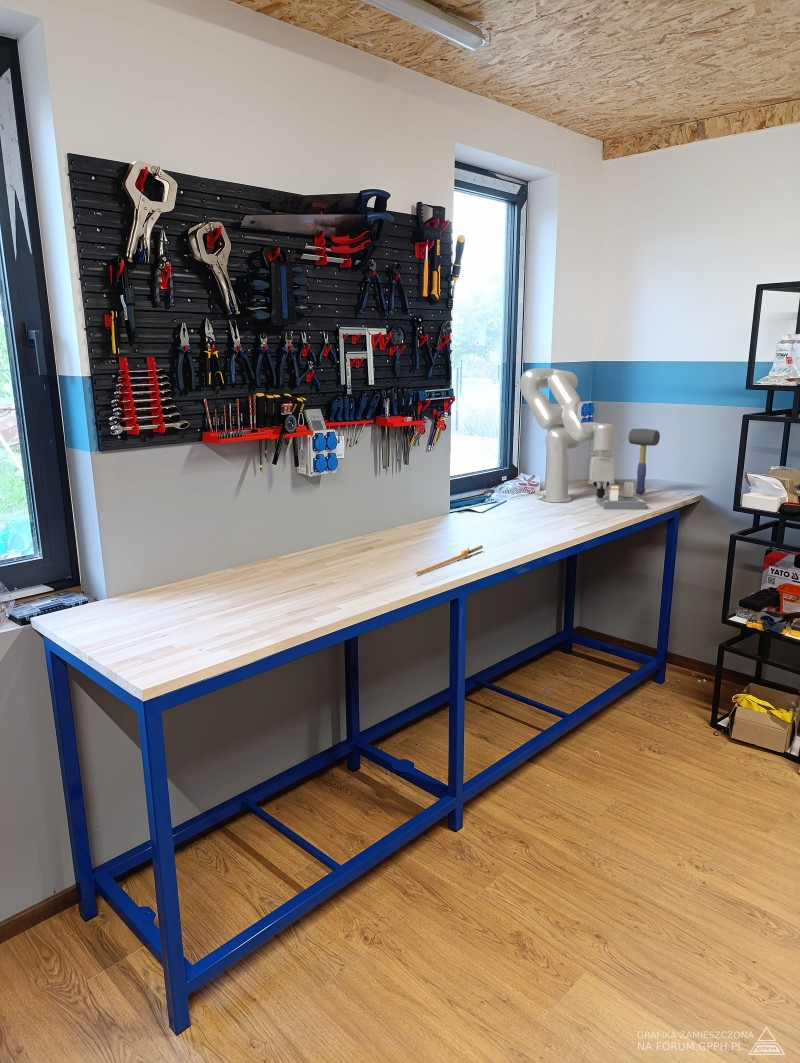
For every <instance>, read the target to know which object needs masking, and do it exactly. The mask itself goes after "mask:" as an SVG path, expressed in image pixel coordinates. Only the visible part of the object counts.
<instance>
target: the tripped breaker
mask: <svg viewBox="0 0 800 1063" xmlns="http://www.w3.org/2000/svg"><path fill="white" fill-rule="evenodd" d="M619 489H620V487H619V485H617V484H610V485H608V495H609V500H610V501H618V495H619Z"/></svg>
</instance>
